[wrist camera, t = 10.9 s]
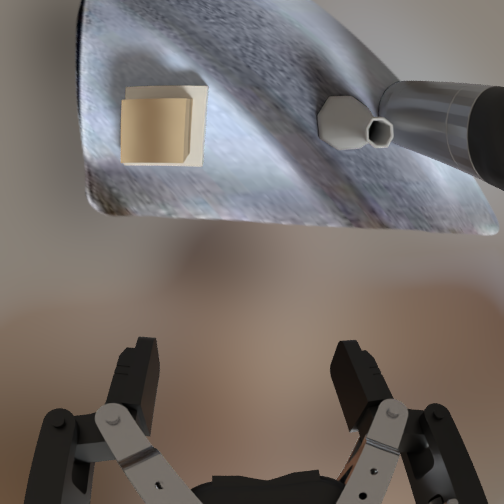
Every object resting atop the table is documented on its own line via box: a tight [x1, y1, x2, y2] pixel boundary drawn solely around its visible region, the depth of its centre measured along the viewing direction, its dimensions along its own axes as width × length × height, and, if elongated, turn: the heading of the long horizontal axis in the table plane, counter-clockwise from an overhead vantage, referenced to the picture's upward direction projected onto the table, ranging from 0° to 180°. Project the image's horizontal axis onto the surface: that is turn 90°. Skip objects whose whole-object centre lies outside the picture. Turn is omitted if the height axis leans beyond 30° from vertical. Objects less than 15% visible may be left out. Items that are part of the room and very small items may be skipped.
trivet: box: [124, 86, 209, 167], centre depth 33 cm, size 9×9×3 cm
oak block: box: [121, 98, 193, 163], centre depth 29 cm, size 6×6×6 cm
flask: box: [317, 96, 394, 150], centre depth 31 cm, size 7×7×10 cm
